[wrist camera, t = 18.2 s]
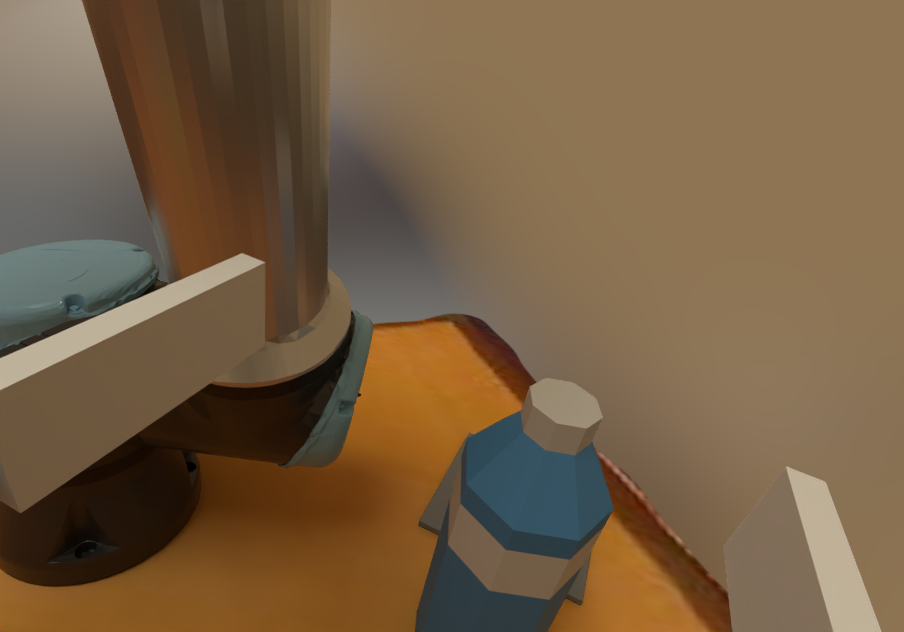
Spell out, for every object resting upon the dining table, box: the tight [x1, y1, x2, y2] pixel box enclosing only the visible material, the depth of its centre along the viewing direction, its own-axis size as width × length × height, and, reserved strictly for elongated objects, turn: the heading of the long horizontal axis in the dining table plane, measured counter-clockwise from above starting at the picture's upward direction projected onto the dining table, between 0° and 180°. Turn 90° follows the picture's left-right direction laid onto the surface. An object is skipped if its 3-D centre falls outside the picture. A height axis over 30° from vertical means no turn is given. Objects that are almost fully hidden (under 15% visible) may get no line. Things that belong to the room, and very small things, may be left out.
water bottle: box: [415, 378, 614, 632], centre depth 33 cm, size 9×9×25 cm
